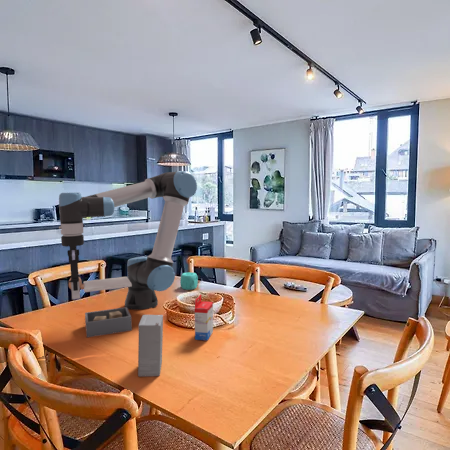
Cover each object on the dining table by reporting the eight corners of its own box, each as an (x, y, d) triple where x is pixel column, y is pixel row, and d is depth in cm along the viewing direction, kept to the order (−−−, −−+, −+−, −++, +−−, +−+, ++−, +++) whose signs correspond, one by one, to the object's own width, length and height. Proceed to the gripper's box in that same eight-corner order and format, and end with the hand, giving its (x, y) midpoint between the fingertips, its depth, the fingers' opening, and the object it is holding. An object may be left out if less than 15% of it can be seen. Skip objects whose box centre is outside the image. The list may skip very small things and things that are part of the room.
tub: (127, 321, 143) (126, 307, 143) (131, 331, 132) (131, 316, 132) (85, 327, 137) (85, 312, 136) (86, 339, 126) (86, 323, 125)
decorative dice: (180, 289, 190) (180, 275, 189) (184, 285, 198) (184, 272, 197) (194, 290, 189) (194, 275, 188) (198, 286, 197) (197, 272, 196)
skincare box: (141, 363, 107) (140, 314, 106) (164, 362, 108) (163, 313, 106) (137, 378, 99) (135, 324, 97) (162, 376, 99) (160, 323, 98)
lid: (127, 278, 142) (126, 268, 142) (131, 286, 131) (131, 275, 130) (69, 285, 133) (68, 274, 133) (68, 294, 122) (68, 281, 122)
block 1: (106, 328, 134) (106, 315, 134) (104, 332, 130) (104, 319, 130) (96, 329, 134) (95, 316, 133) (93, 333, 130) (93, 320, 129)
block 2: (119, 322, 140) (119, 310, 139) (122, 325, 136) (122, 313, 136) (109, 325, 138) (108, 312, 137) (112, 328, 134) (111, 315, 134)
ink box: (207, 341, 123) (207, 301, 122) (194, 340, 124) (193, 300, 123) (213, 331, 132) (213, 294, 130) (200, 330, 133) (200, 293, 131)
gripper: (61, 232, 133) (65, 292, 135) (60, 238, 117) (64, 305, 119) (82, 231, 136) (86, 289, 138) (84, 236, 120) (87, 302, 122)
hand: (76, 296), depth 129 cm, fingers closed on lid, 4 cm apart
